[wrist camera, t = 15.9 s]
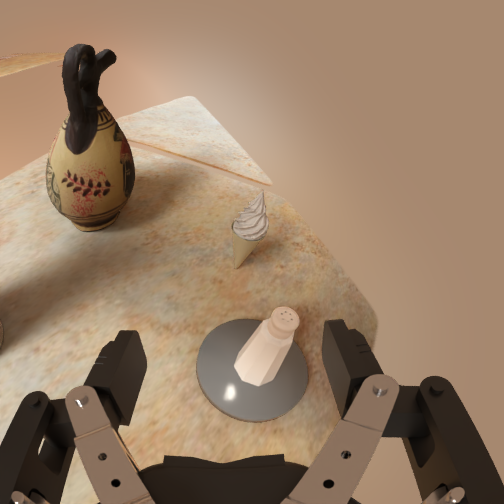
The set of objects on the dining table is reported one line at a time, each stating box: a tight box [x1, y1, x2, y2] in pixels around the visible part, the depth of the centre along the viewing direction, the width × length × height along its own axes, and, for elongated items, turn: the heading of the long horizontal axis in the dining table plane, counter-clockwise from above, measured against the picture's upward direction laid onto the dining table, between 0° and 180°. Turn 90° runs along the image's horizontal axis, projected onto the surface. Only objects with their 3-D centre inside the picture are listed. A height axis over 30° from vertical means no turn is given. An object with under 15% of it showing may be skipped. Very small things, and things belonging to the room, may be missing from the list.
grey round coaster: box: [196, 319, 308, 423], centre depth 36 cm, size 14×14×2 cm
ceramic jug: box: [46, 44, 135, 231], centre depth 39 cm, size 17×15×30 cm
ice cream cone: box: [231, 190, 269, 269], centre depth 44 cm, size 5×5×15 cm
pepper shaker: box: [234, 306, 300, 386], centre depth 32 cm, size 5×5×11 cm
